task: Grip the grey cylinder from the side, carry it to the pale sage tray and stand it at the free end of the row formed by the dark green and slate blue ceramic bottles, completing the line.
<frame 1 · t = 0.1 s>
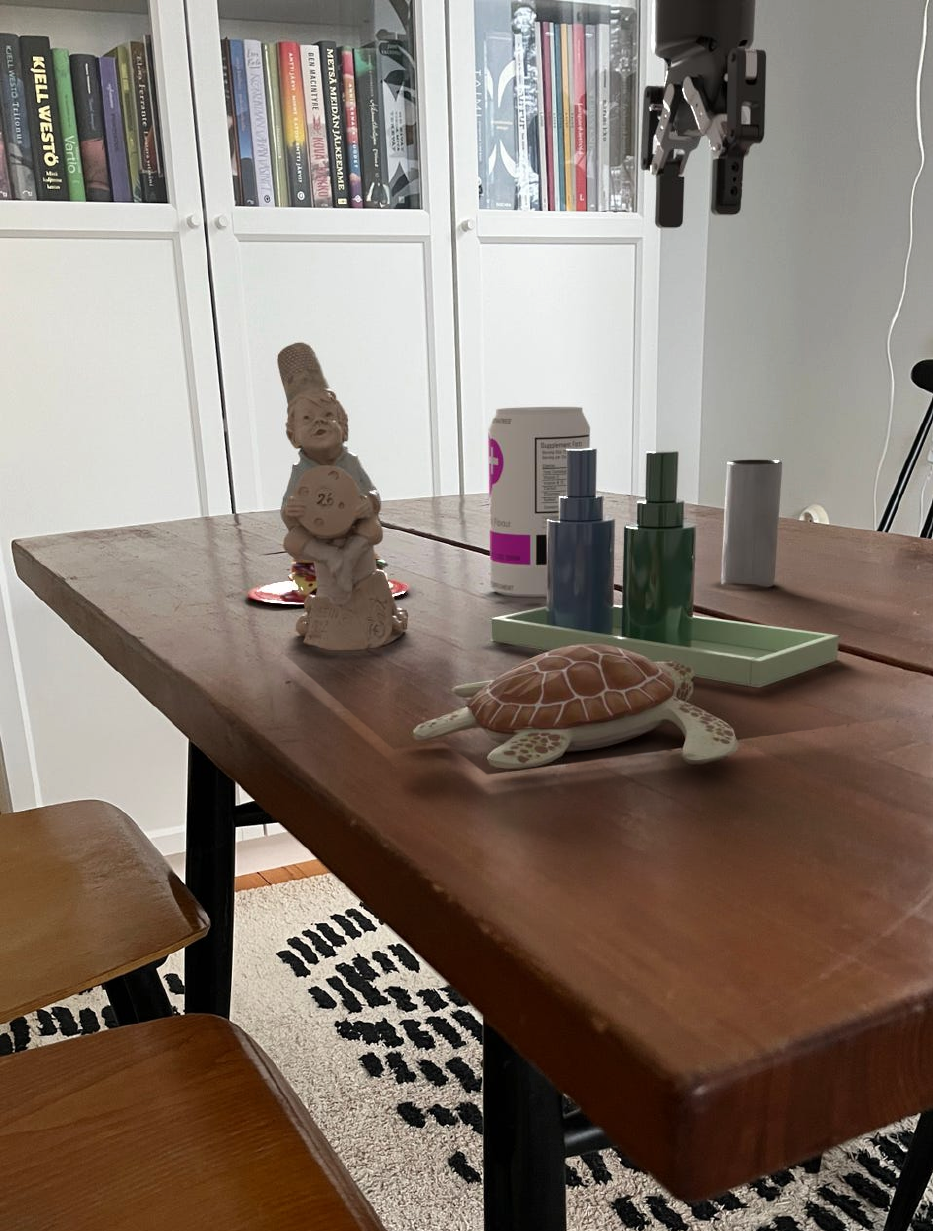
hand: (695, 221, 96), 29 cm above the table, tool pointing down, fingers open, 8 cm apart
green bottle: (656, 648, 81), resting on tray
tray: (655, 656, 81), on the table
decorative turtle: (579, 746, 63), on the table
figurine: (350, 646, 87), on the table
blue bottle: (579, 636, 85), resting on tray
red plate: (329, 596, 107), on the table
supplement can: (539, 597, 104), on the table
grey cylinder: (747, 587, 106), on the table
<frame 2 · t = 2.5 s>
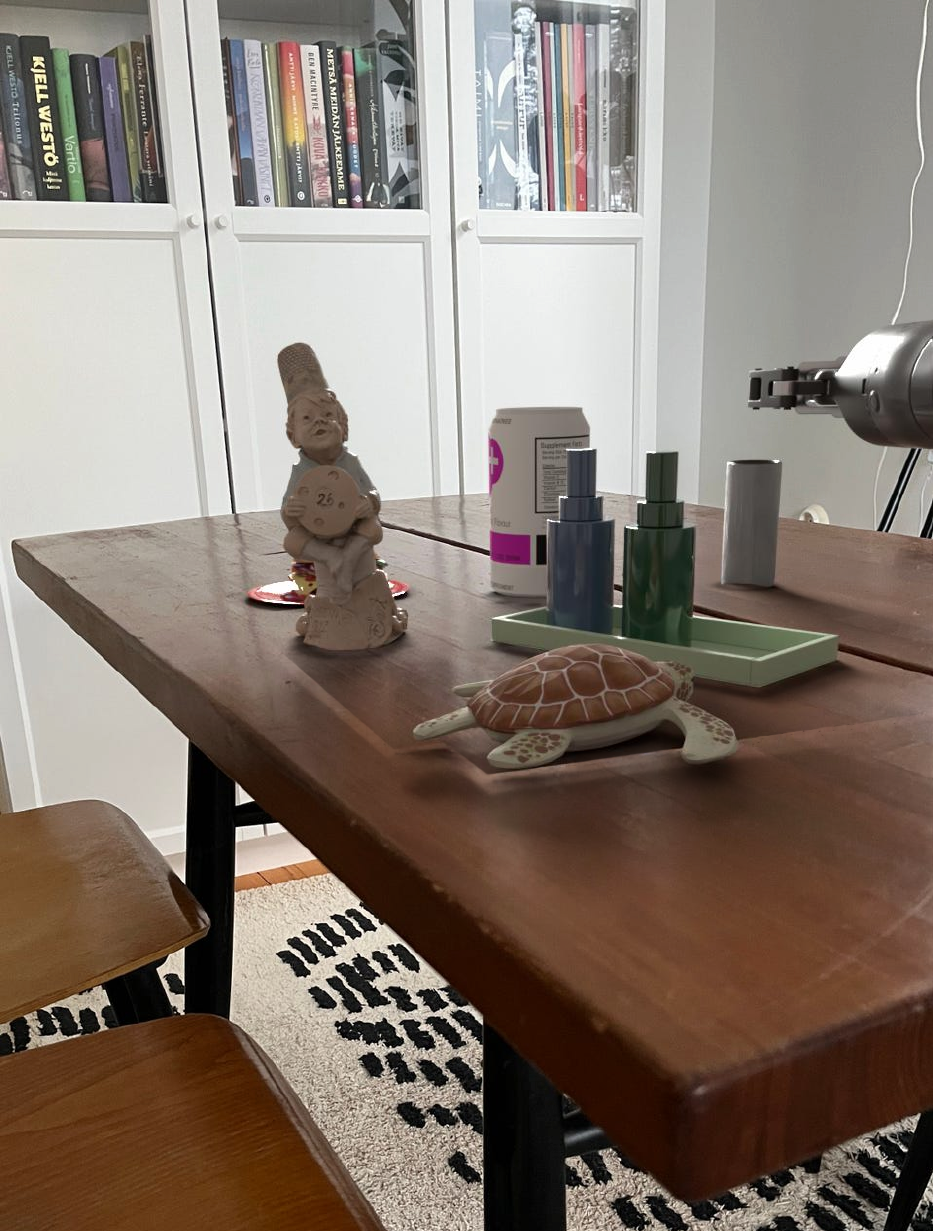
hand: (814, 388, 91), 16 cm above the table, tool horizontal, fingers open, 8 cm apart
nothing on the table moved.
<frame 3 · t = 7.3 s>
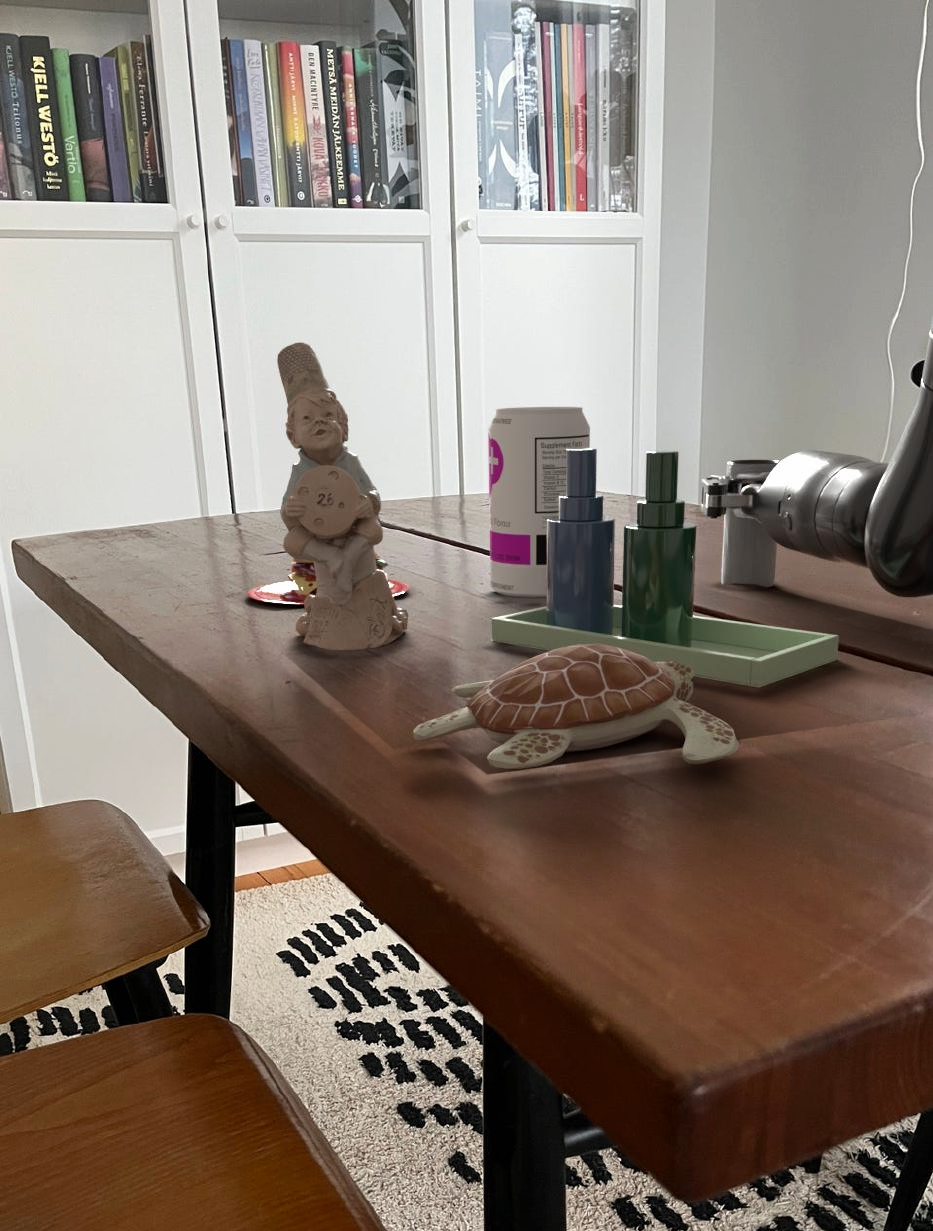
hand: (740, 486, 106), 8 cm above the table, tool horizontal, fingers closed on grey cylinder, 4 cm apart
grey cylinder: (747, 587, 106), on the table, touching gripper
everything else where it was.
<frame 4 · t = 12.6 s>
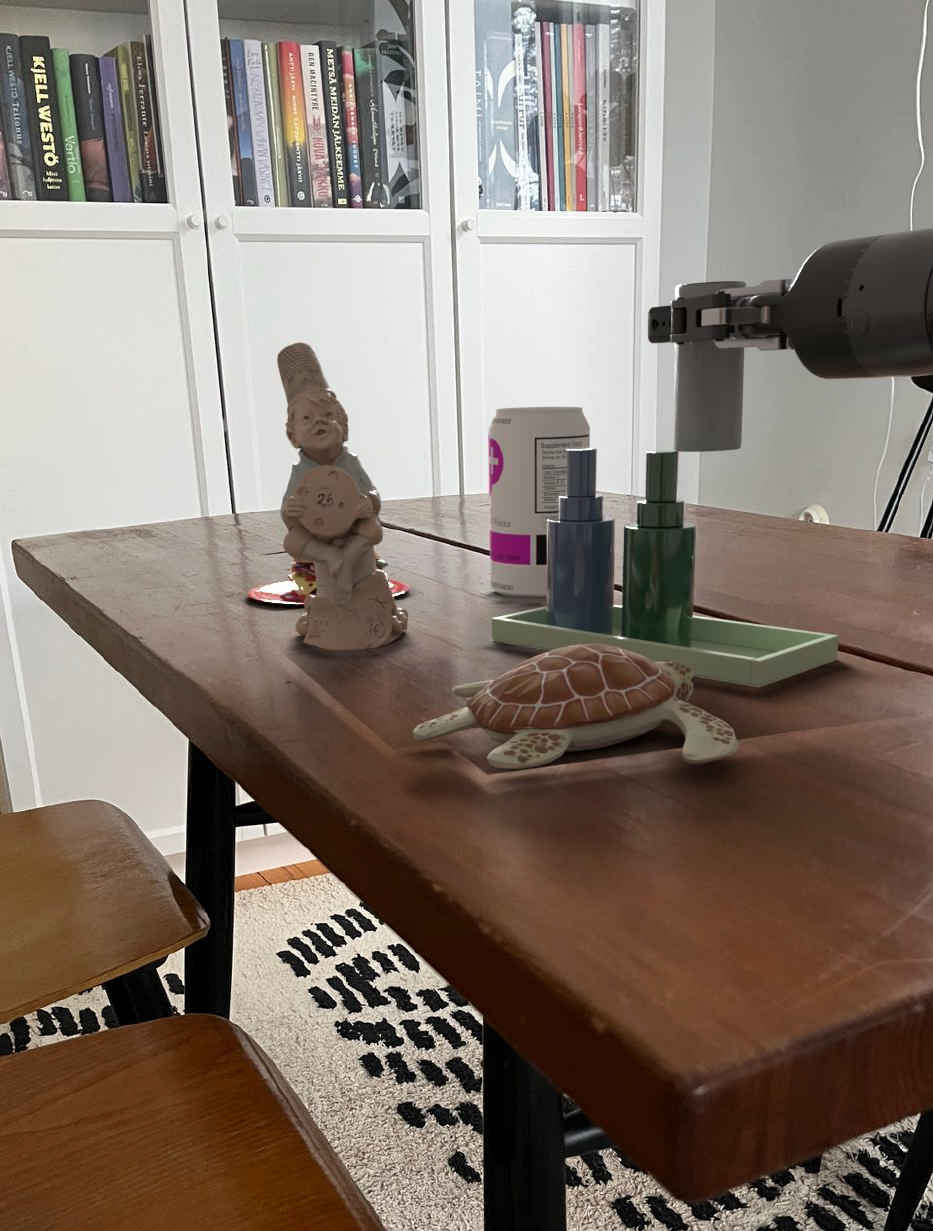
hand: (680, 324, 82), 21 cm above the table, tool horizontal, fingers closed on grey cylinder, 4 cm apart
grey cylinder: (706, 452, 83), point 12 cm above the table, touching gripper
everything else where it was.
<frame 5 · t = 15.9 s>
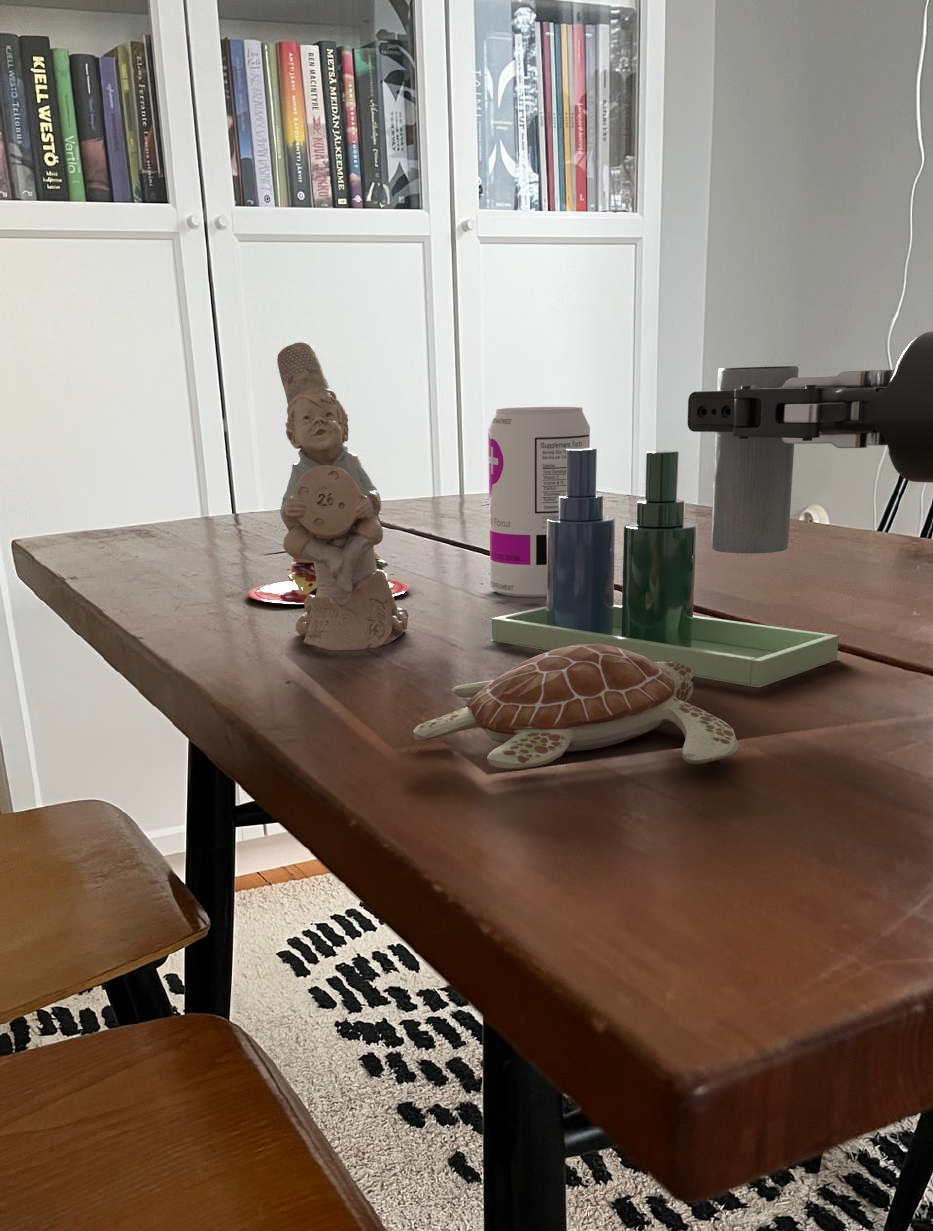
hand: (717, 409, 73), 15 cm above the table, tool horizontal, fingers closed on grey cylinder, 4 cm apart
grey cylinder: (749, 552, 74), point 7 cm above the table, touching gripper
everything else where it was.
when the fingers open (9 cm above the table, at t = 18.2 s): grey cylinder stays where it is, resting on tray.
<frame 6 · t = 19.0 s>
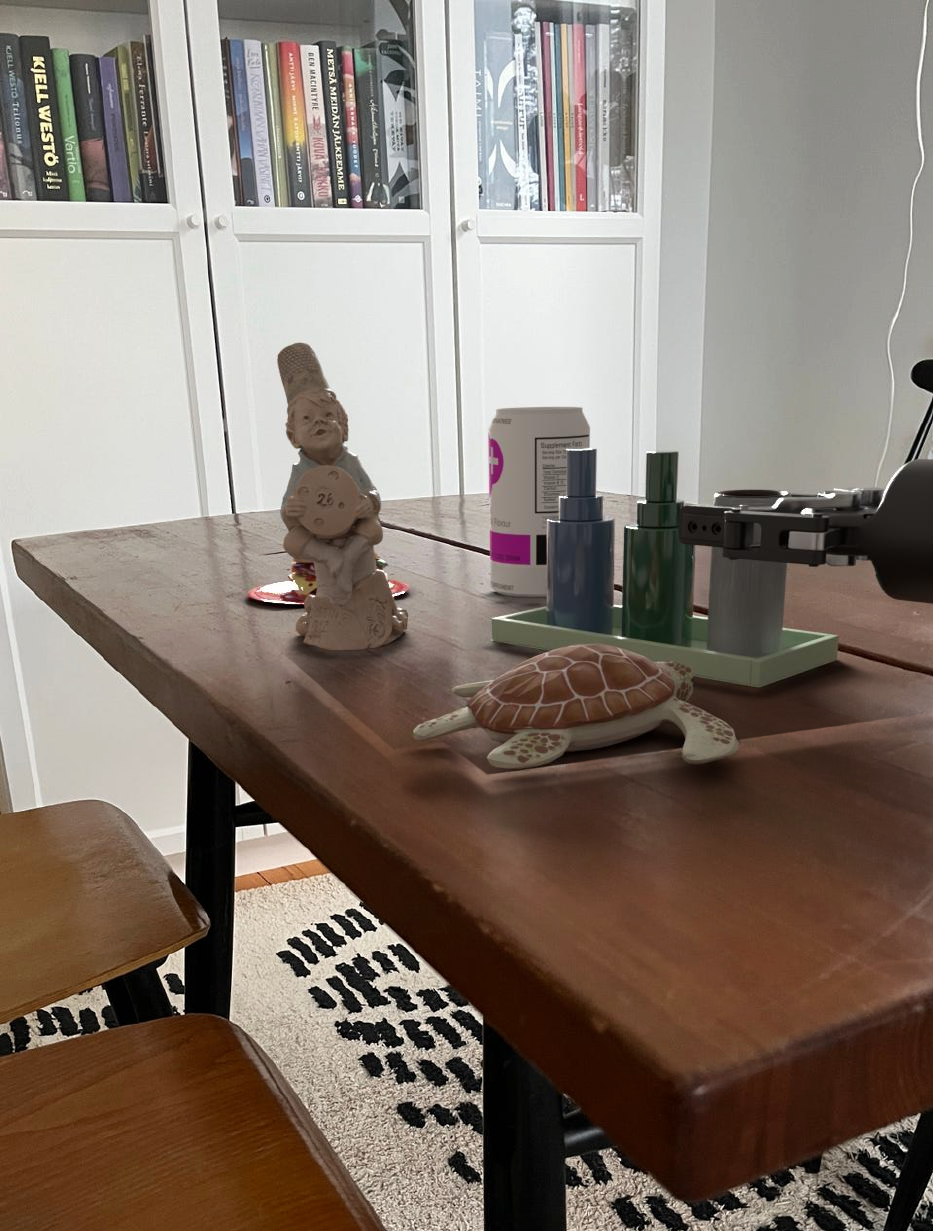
hand: (722, 516, 75), 9 cm above the table, tool horizontal, fingers open, 8 cm apart
grey cylinder: (742, 666, 77), resting on tray
everything else where it was.
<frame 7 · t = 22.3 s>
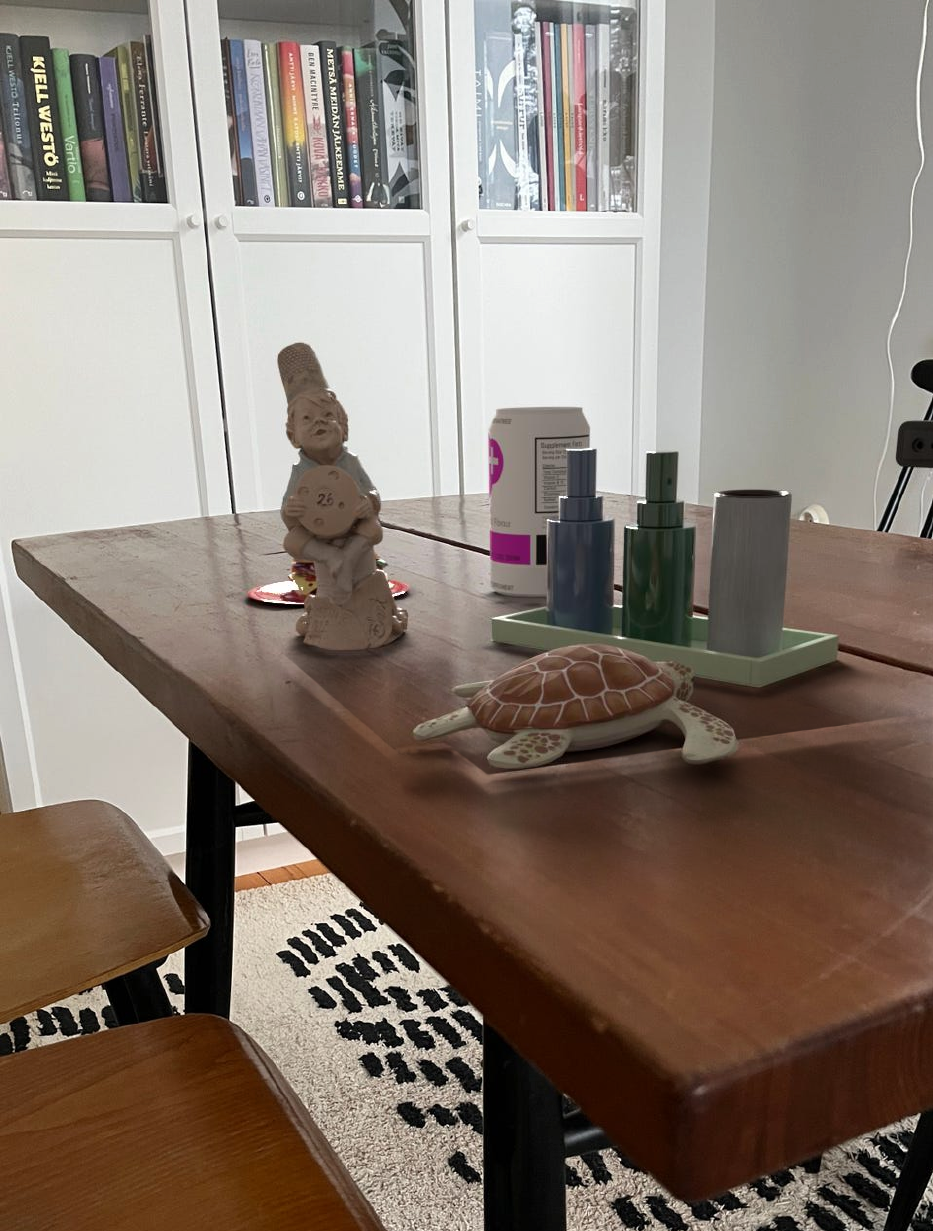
nothing on the table moved.
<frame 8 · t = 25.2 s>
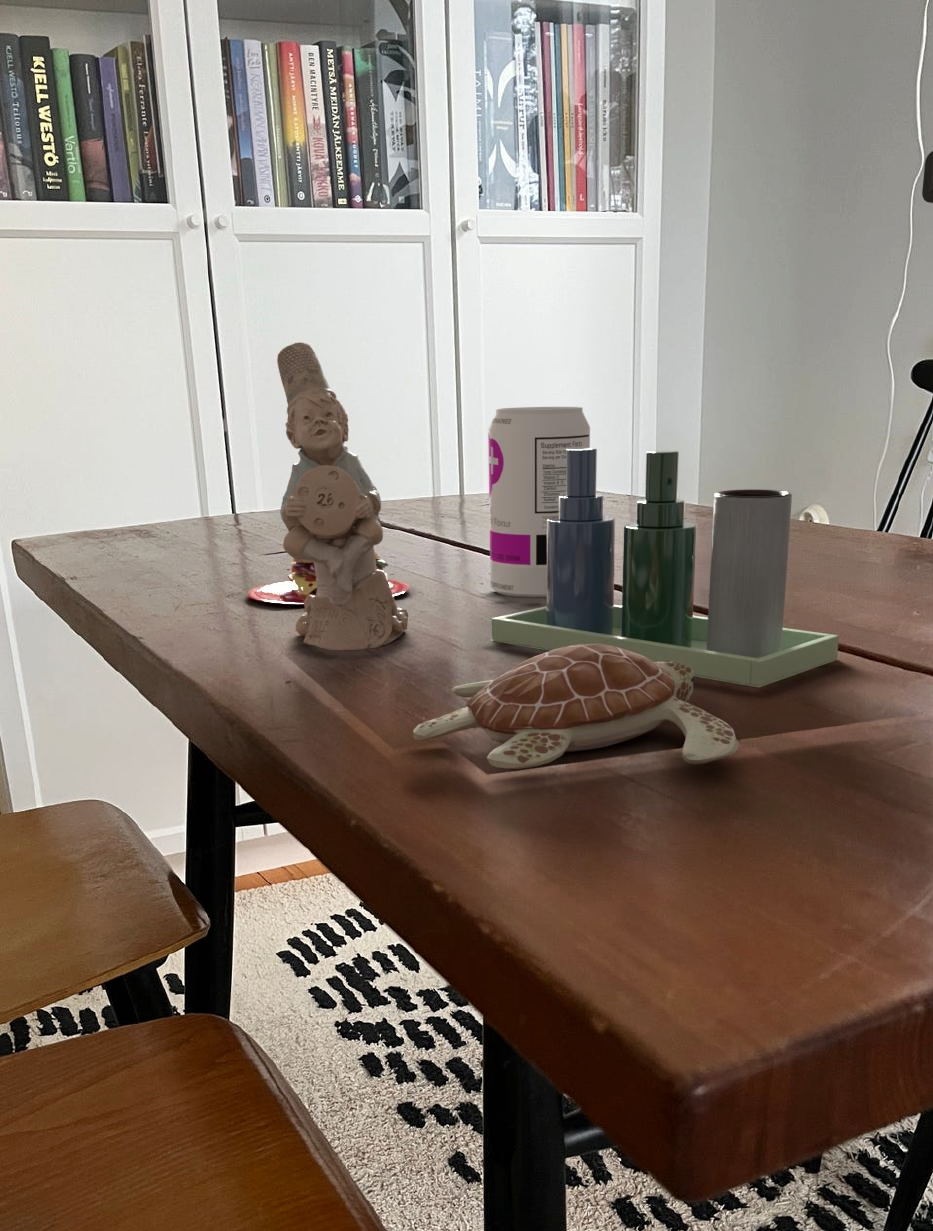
nothing on the table moved.
at the end: grey cylinder 0.2 cm from the target spot in the tray, point 0.3 cm above the tray's base; grey cylinder tilted 0°; the gripper is holding nothing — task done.
